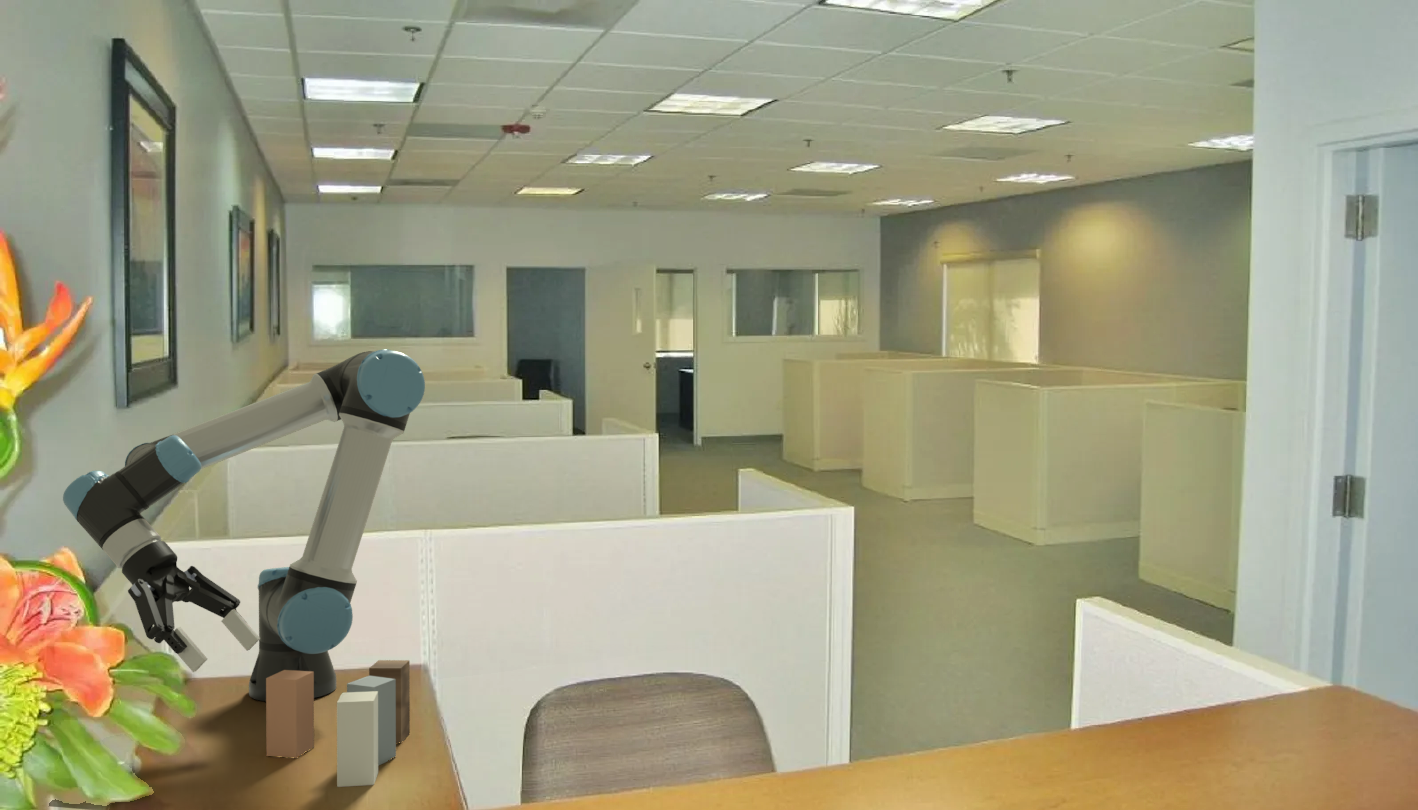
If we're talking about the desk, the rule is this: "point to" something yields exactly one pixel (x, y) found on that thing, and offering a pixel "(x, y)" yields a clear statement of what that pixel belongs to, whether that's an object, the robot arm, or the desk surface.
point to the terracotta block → (289, 713)
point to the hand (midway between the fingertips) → (228, 655)
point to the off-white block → (357, 738)
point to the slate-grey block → (381, 712)
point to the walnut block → (397, 691)
